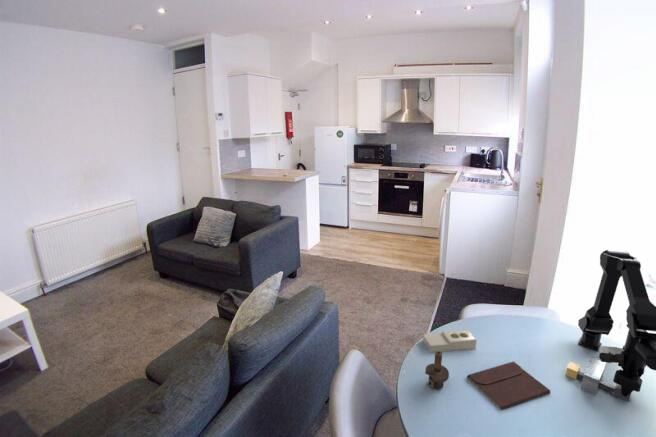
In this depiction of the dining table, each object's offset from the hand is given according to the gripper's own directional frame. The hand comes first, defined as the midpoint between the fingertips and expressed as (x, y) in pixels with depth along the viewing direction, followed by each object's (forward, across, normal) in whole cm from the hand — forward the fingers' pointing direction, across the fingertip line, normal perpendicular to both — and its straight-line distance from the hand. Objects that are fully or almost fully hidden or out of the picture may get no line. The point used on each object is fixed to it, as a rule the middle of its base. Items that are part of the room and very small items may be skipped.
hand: (624, 391), depth 116 cm
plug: (+2, 0, -7) cm, 7 cm away
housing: (+2, 0, -8) cm, 9 cm away
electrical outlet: (+2, +14, -52) cm, 53 cm away
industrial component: (+2, +38, -45) cm, 59 cm away
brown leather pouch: (+2, +21, -28) cm, 35 cm away
